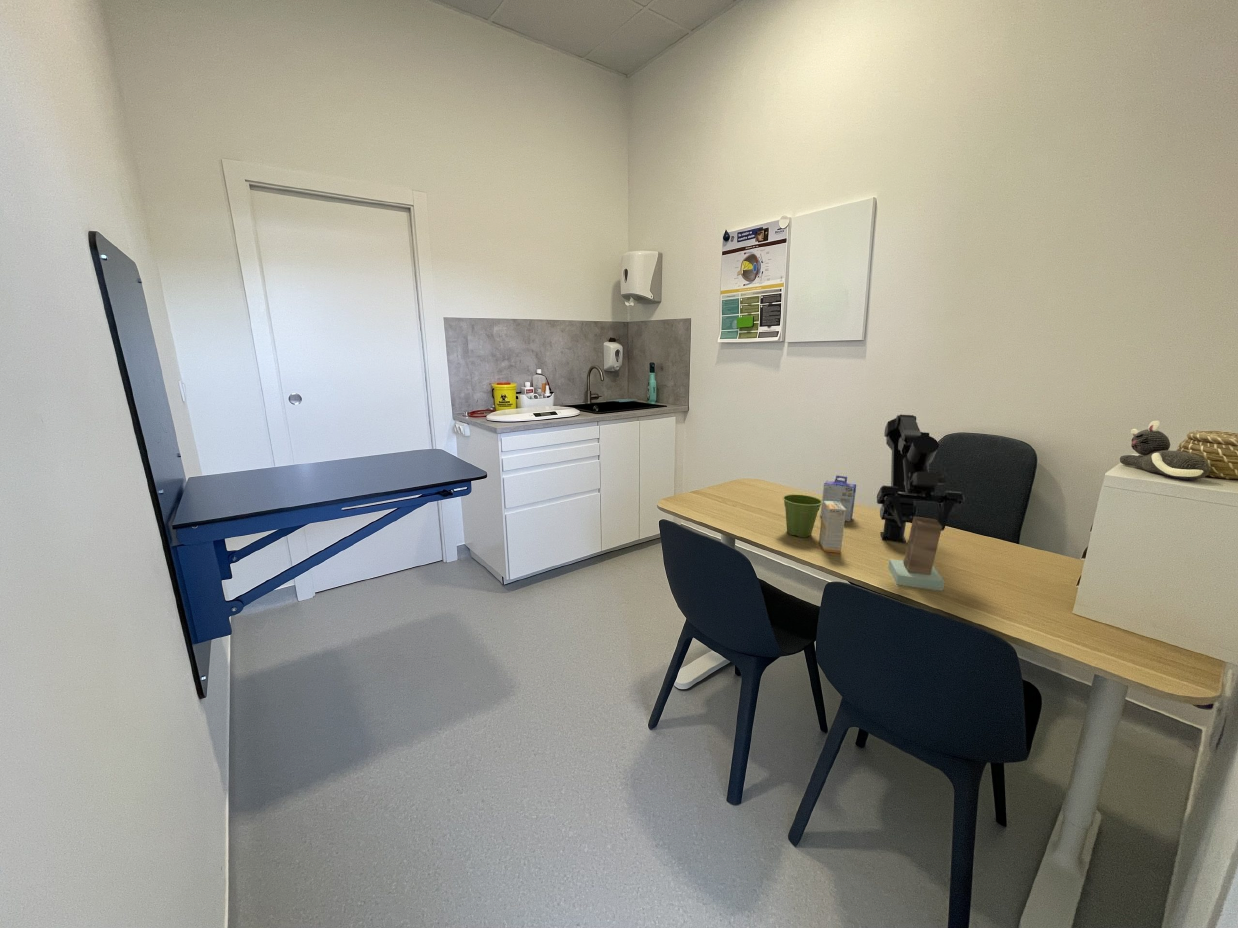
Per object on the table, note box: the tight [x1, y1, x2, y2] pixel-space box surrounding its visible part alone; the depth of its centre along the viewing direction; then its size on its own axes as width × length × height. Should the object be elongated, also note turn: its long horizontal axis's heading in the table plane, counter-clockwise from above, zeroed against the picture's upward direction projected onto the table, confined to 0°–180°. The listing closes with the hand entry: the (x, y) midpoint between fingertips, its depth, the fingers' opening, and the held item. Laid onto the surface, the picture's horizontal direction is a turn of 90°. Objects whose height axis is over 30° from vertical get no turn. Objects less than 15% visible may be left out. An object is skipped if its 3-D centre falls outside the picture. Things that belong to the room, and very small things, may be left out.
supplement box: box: [818, 501, 846, 554], centre depth 142 cm, size 8×5×13 cm, turn 168°
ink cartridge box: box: [819, 474, 857, 522], centre depth 168 cm, size 10×6×14 cm, turn 58°
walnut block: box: [903, 515, 942, 575], centre depth 122 cm, size 5×5×13 cm
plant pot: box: [781, 493, 823, 538], centre depth 153 cm, size 12×12×11 cm
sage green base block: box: [887, 558, 945, 592], centre depth 124 cm, size 10×10×3 cm
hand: (921, 527), depth 122 cm, fingers open, 9 cm apart
